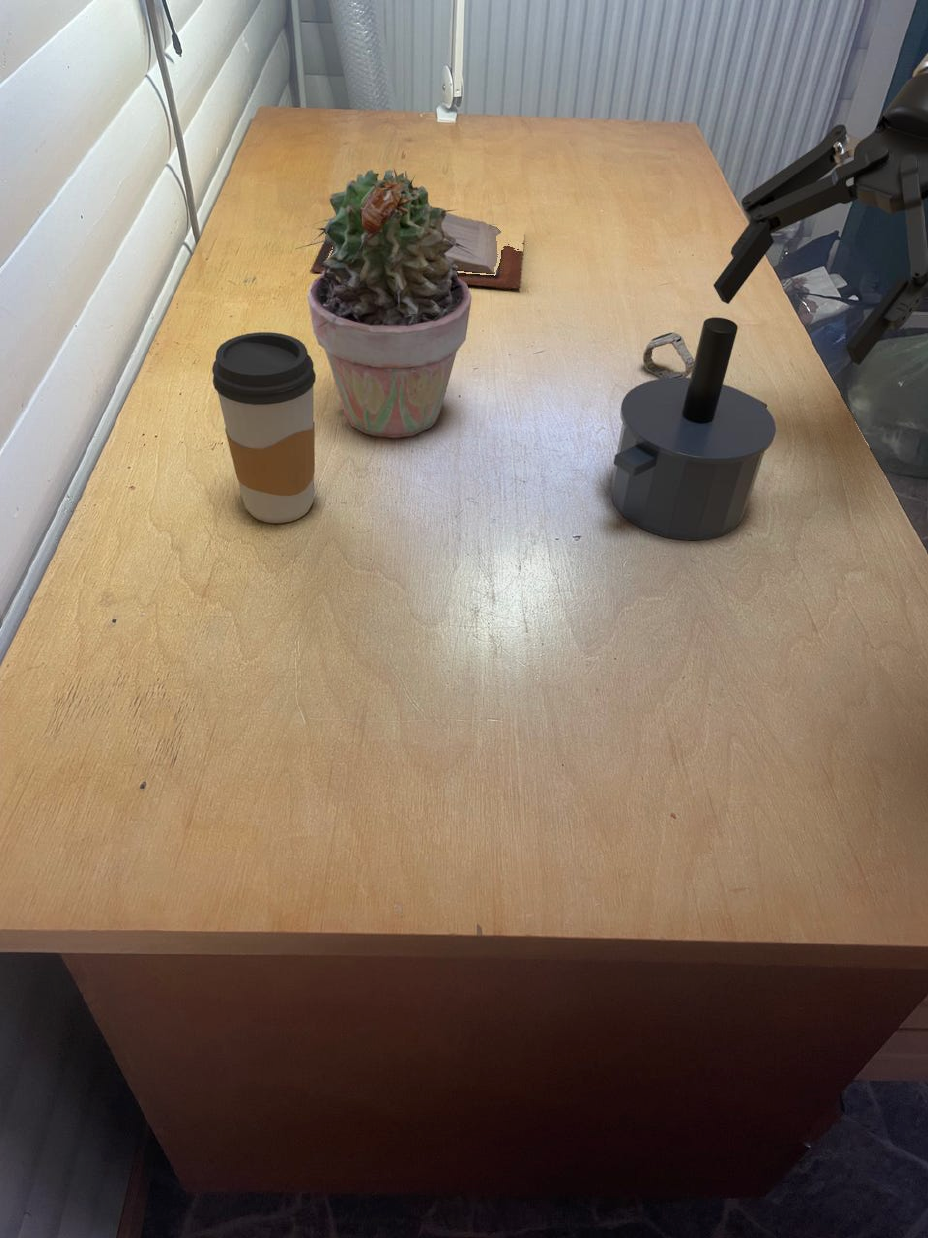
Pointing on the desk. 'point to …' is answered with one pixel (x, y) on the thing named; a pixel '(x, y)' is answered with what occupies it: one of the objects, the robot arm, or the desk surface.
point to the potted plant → (389, 305)
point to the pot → (680, 491)
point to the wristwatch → (681, 350)
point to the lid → (700, 408)
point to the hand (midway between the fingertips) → (783, 324)
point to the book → (485, 250)
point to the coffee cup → (269, 422)
